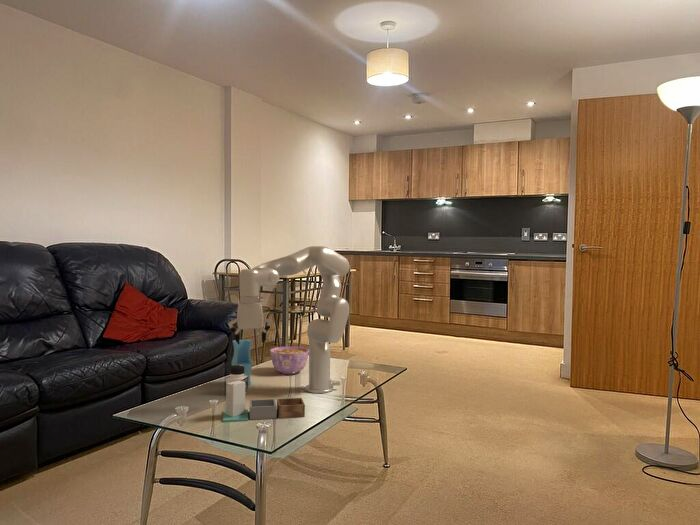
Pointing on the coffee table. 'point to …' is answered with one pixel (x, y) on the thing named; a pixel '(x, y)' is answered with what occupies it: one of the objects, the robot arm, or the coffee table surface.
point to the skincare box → (235, 398)
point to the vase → (243, 356)
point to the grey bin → (263, 409)
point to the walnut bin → (290, 407)
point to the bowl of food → (289, 359)
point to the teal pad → (235, 417)
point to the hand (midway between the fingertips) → (250, 343)
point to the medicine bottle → (238, 375)
